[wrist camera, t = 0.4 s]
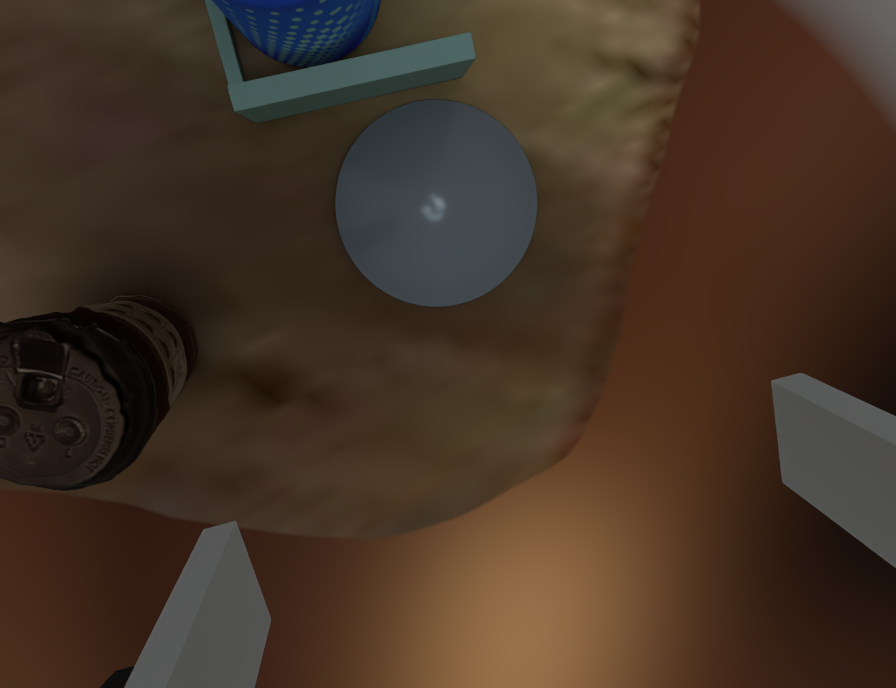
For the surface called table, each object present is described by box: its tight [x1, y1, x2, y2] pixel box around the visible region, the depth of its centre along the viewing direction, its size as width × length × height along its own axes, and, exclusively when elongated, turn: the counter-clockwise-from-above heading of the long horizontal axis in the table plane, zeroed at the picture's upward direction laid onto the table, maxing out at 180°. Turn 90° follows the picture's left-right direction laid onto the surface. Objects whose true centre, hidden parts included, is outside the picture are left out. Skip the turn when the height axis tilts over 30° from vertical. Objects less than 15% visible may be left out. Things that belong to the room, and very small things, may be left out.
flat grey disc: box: [335, 100, 537, 307], centre depth 39 cm, size 12×12×1 cm
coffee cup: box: [0, 294, 197, 491], centre depth 34 cm, size 9×8×13 cm
